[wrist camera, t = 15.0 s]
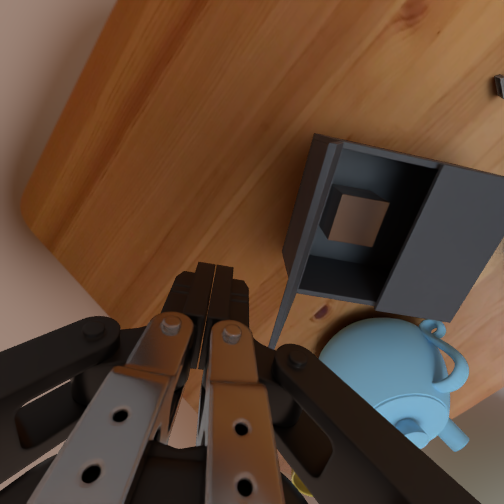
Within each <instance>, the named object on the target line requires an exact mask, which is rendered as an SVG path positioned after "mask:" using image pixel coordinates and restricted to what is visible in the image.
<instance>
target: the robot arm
mask: <svg viewBox="0 0 504 504" xmlns="http://www.w3.org/2000/svg"><path fill="white" fill-rule="evenodd" d="M214 271H215V264H209V263H203V262H198V265H197V268H196V271H195V273H193V272H187V271H183V272H182V273H181V274H179V275H178V276H176V278H175V281H174V283H173V285H172V288H171V290H170V292H169V295H168V297H167V299H166V302H165V304H164V306H163V309H162V311H161V313H160V314H158V315H156V316H154V317H153V318H152V319H151V320H150V322H149V324H148V325H147V326H144V327H140V328H134V329H122V330H120V325H119V323H118V322H117V321H115V320H114V319H112V318H109V317H104V316H94V317H88V318H85V319H82V320H79V321H77V322H74V323H72V324H69V325H67V326H64V327H62V328H59V329H57V330H54V331H52V332H49V333H47V334H44V335H42V336H40V337H37V338H34V339H32V340H29V341H27V342H24V343H22V344H19V345H17V346H14V347H12V348H9V349H7V350H4V351H2V352H0V484H1V483H3V482H4V481H6V480H7V479H9V478H10V477H12V476H13V475H15V474H16V473H17V472H19V471H20V470H22V469H23V468H25V467H26V466H28V465H29V464H31V463H32V462H34V461H35V460H37V459H38V458H39V457H41V456H42V455H44V454H45V453H47V452H48V451H50V450H51V449H53V448H54V447H56V446H57V445H59V444H60V443H61V442H63V441H65V440H66V439H67V440H66V442H65V443H64V445H63V446H62V448H61V449H60V451H59V453H58V454H56V455H54V456H52V457H50V458H48V459H46V460H44V461H43V462H41V463H39V464H38V465H36V466H35V467H33V468H32V469H30V470H29V471H27V472H26V473H25V474H23V475H22V476H20V477H19V478H18V479H16V480H15V481H13V482H12V483H11V484H9V485H8V486H7V487H5V488H4V489H2V490H1V491H0V504H308V503H307V501H306V500H305V498H304V497H303V496H302V494H301V493H300V492H299V490H298V489H297V488H296V487H295V486H294V484H293V483H292V482H291V481H290V480H289V479H288V478H287V477H286V476H285V475H283V474H282V473H281V472H280V467H279V461H278V454H277V449H278V451H279V452H280V453H281V455H282V456H283V457H284V459H285V460H286V461H287V463H288V464H289V465H290V466H291V468H292V469H293V470H294V472H295V473H296V474H297V476H298V477H299V478H300V480H301V481H302V482H303V484H304V485H305V486H306V488H307V489H308V490H309V491H310V493H311V494H312V495H313V497H314V498H315V499H316V500H317V502H318V503H319V504H481V503H480V502H479V501H477V500H476V499H475V498H474V497H473V496H472V495H471V494H470V493H469V492H467V491H466V490H465V489H464V488H463V487H462V486H461V485H459V484H458V483H457V482H456V481H455V480H454V479H453V478H452V477H451V476H449V475H448V474H447V473H446V472H445V471H444V470H443V469H442V468H440V467H439V466H438V465H437V464H436V463H435V462H434V461H433V460H431V459H430V458H429V457H428V456H427V455H426V454H425V453H424V452H423V451H421V450H420V449H419V448H418V447H417V446H416V445H415V444H414V443H412V442H411V441H410V440H409V439H408V438H407V437H406V436H405V435H404V434H402V433H401V432H400V431H399V430H398V429H397V428H396V427H395V426H393V425H392V424H391V423H390V422H389V421H388V420H387V419H386V418H384V417H383V416H382V415H381V414H380V413H379V412H378V411H377V410H375V409H374V408H373V407H372V406H371V405H370V404H369V403H368V402H366V401H365V400H364V399H363V398H362V397H361V396H360V395H359V394H358V393H356V392H355V391H354V390H353V389H352V388H351V387H350V386H349V385H347V384H346V383H345V382H344V381H343V380H342V379H341V378H340V377H338V376H337V375H336V374H335V373H334V372H333V371H332V370H331V369H329V368H328V367H327V366H326V365H325V364H324V363H323V362H322V361H321V360H319V359H318V358H317V357H316V356H315V355H314V354H313V353H312V352H310V351H309V350H308V349H306V348H304V347H302V346H300V345H296V344H284V345H282V346H280V347H279V348H278V349H277V351H276V350H273V349H271V348H268V347H266V346H264V345H262V344H260V343H259V342H258V341H256V340H255V339H254V338H253V335H252V332H251V330H250V329H249V288H248V286H247V285H246V283H245V282H244V281H243V280H237V279H233V267H228V266H222V265H217V267H216V272H215V277H214ZM213 277H214V283H213ZM212 283H213V288H212ZM211 289H212V293H211ZM210 295H211V298H210ZM209 301H210V303H209ZM208 306H209V309H208ZM207 312H208V314H207ZM206 317H207V319H206ZM205 322H206V325H205ZM204 327H205V331H204ZM203 332H204V337H203ZM202 337H203V343H202V349H201V356H200V362H199V368H198V369H202V370H204V371H203V377H202V383H201V389H200V399H199V412H198V425H197V438H196V446H195V447H189V448H184V449H177V448H173V447H171V446H168V445H167V444H168V440H169V437H170V433H171V430H172V427H173V424H174V421H175V417H176V415H177V411H178V408H179V405H180V402H181V399H182V396H183V392H184V389H185V383H186V382H187V380H188V377H189V372H190V368H193V369H196V368H197V363H198V358H199V353H200V348H201V342H202ZM69 379H70V380H71V381H70V382H68V383H66V384H64V385H62V386H60V387H59V388H56V389H55V390H53V391H51V392H49V393H47V394H45V395H44V396H42V397H40V398H38V399H36V400H34V401H32V402H31V403H29V404H27V405H25V406H23V405H24V404H25V403H27V402H28V401H30V400H31V399H33V398H35V397H37V396H39V395H41V394H43V393H45V392H46V391H48V390H50V389H52V388H54V387H56V386H57V385H59V384H61V383H63V382H65V381H67V380H69ZM22 406H23V407H22ZM309 416H310V417H309ZM320 428H321V429H322V430H321V429H320Z"/></svg>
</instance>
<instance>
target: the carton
mask: <svg viewBox="0 0 504 504" xmlns="http://www.w3.org/2000/svg"><path fill="white" fill-rule="evenodd" d="M336 141H341V142H344V144H343V148H342V151H341V154H340V157H339V160H338V163H337V166H336V170H335V173H334V176H333V179H332V182H331V185H330V188H329V192H330V189H331V186H332V184H337V185H343V186H348V187H353V188H359V189H364V190H369V191H372V192H373V193H375V194H377V195H378V196H380V197H381V198H383V199H385V200H386V201H388V202H389V203H390V204H389V206H388V209H387V211H386V214H385V216H384V219H383V221H382V224H381V226H380V229H379V231H378V234H377V236H376V239H375V241H374V244H373V246H372V247H368V246H362V245H356V244H350V243H344V242H338V241H332V240H328V239H327V238H326V236H325V234H324V233H323V231H322V230H321V228H320V227H319V223H320V220H321V217H322V214H323V211H324V207H325V204H326V201H327V198H328V195H329V192H328V195H327V198H326V201H325V204H324V207H323V210H322V214H321V217H320V220H319V223H318V226H317V229H316V232H315V236H314V239H313V242H312V245H311V248H310V251H309V254H308V258H307V261H306V264H305V267H304V270H303V273H302V276H301V279H300V283H299V286H298V289H297V292H296V293H299V294H305V295H311V296H317V297H323V298H329V299H335V300H341V301H347V302H353V303H359V304H365V305H371V306H374V309H375V310H376V311H381V312H388V313H394V314H400V315H406V316H412V317H418V318H424V319H430V320H436V321H442V322H448V323H450V322H451V320H452V319H453V317H454V316H455V314H456V312H457V311H458V309H459V308H460V306H461V304H462V303H463V301H464V300H465V298H466V296H467V295H468V293H469V292H470V290H471V288H472V287H473V285H474V283H475V282H476V280H477V279H478V277H479V275H480V274H481V272H482V271H483V269H484V267H485V266H486V264H487V263H488V261H489V259H490V258H491V256H492V255H493V253H494V251H495V250H496V248H497V247H498V245H499V243H500V242H501V240H502V239H503V237H504V176H501V175H497V174H493V173H488V172H484V171H480V170H476V169H472V168H468V167H464V166H460V165H455V164H451V163H446V162H442V161H437V160H433V159H429V158H424V157H420V156H415V155H411V154H406V153H402V152H397V151H393V150H388V149H384V148H379V147H375V146H370V145H366V144H361V143H357V142H352V141H348V140H343V139H339V138H334V137H330V136H325V135H321V134H316V133H314V136H313V139H312V143H311V147H310V150H309V154H308V158H307V161H306V165H305V169H304V172H303V176H302V180H301V183H300V187H299V191H298V194H297V198H296V202H295V205H294V209H293V213H292V216H291V220H290V224H289V227H288V231H287V235H286V238H285V242H284V246H283V249H282V254H283V258H284V262H285V266H286V270H287V274H288V278H289V275H290V272H291V268H292V265H293V262H294V258H295V255H296V252H297V248H298V245H299V242H300V238H301V235H302V231H303V228H304V225H305V221H306V218H307V215H308V211H309V208H310V205H311V201H312V198H313V195H314V191H315V188H316V184H317V181H318V178H319V174H320V171H321V168H322V164H323V161H324V158H325V154H326V151H327V147H328V144H329V142H336Z"/></svg>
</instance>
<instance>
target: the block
mask: <svg viewBox="0 0 504 504" xmlns="http://www.w3.org/2000/svg"><path fill="white" fill-rule="evenodd" d="M389 204H390V203H389V202H388V201H386V200H385V199H383V198H381V197H380V196H378V195H377V194H375V193H373V192H372V191H369V190H364V189H359V188H353V187H348V186H343V185H337V184H332V186H331V189H330V192H329V195H328V198H327V201H326V204H325V207H324V211H323V214H322V217H321V220H320V223H319V227H320V228H321V230H322V231H323V233H324V234H325V236H326V238H327V239H328V240H332V241H338V242H344V243H350V244H356V245H362V246H368V247H372V246H373V244H374V241H375V239H376V236H377V234H378V231H379V229H380V226H381V224H382V221H383V219H384V216H385V214H386V211H387V209H388V206H389Z"/></svg>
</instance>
